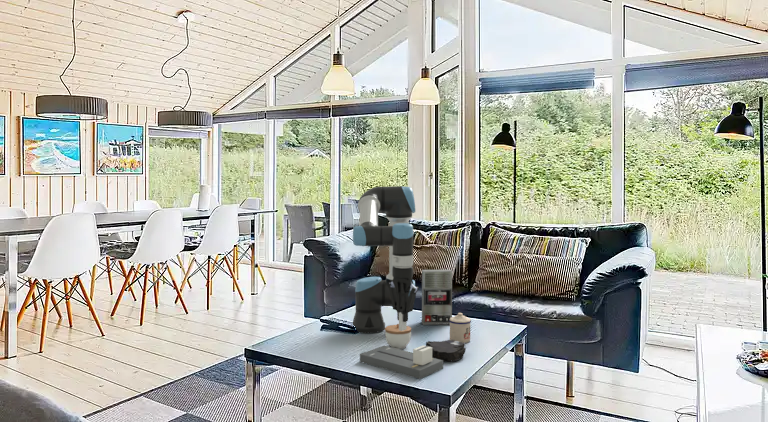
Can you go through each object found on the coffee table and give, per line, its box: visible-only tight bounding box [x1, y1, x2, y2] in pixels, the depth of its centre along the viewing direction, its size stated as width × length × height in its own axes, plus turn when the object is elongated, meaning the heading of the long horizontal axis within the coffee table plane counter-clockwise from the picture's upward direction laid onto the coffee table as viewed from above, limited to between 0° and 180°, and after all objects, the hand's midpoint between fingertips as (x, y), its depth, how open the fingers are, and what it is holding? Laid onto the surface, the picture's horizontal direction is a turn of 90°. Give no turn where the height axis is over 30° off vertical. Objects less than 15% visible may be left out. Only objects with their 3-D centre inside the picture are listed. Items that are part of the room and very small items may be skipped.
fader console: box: [359, 345, 444, 380], centre depth 212 cm, size 28×14×3 cm, turn 50°
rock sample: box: [425, 339, 467, 363], centre depth 223 cm, size 18×16×5 cm
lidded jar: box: [384, 323, 412, 350], centre depth 234 cm, size 11×11×9 cm
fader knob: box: [412, 345, 432, 365], centre depth 205 cm, size 4×6×5 cm, turn 140°
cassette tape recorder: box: [421, 269, 453, 326], centre depth 270 cm, size 14×6×25 cm, turn 92°
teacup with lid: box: [449, 312, 472, 344], centre depth 244 cm, size 12×9×12 cm
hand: (402, 329), depth 211 cm, fingers closed
